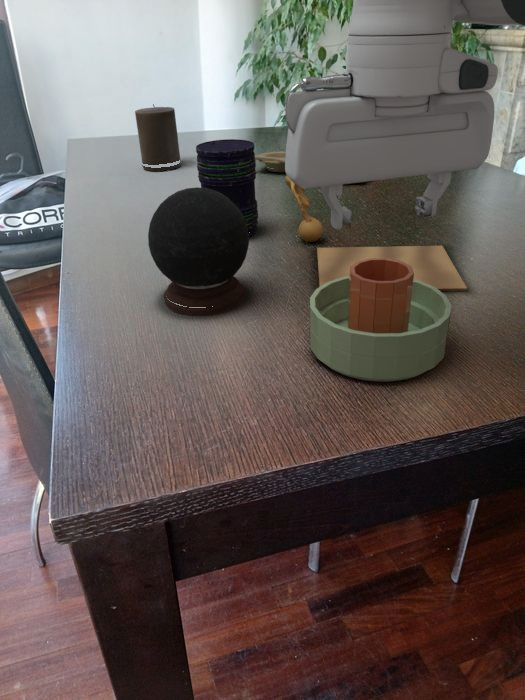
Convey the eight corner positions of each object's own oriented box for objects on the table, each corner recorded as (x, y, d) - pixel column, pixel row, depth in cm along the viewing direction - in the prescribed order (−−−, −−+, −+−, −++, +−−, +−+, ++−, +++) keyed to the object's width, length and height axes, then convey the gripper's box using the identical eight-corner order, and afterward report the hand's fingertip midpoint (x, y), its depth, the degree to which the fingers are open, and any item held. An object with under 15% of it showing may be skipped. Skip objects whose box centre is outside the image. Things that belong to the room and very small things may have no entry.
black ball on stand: (137, 300, 79) (119, 193, 71) (206, 270, 87) (197, 171, 79) (202, 329, 71) (189, 212, 64) (271, 292, 80) (267, 185, 72)
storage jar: (270, 231, 101) (267, 143, 93) (229, 246, 95) (222, 154, 88) (233, 219, 107) (227, 136, 100) (192, 233, 102) (182, 146, 94)
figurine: (321, 250, 92) (322, 175, 86) (284, 250, 93) (283, 176, 87) (323, 232, 99) (324, 162, 93) (288, 232, 100) (287, 163, 94)
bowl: (429, 316, 72) (435, 272, 69) (458, 385, 59) (466, 335, 56) (309, 317, 73) (309, 274, 70) (310, 385, 60) (311, 336, 57)
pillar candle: (164, 173, 140) (156, 107, 132) (135, 169, 144) (125, 106, 137) (189, 164, 147) (182, 101, 139) (160, 161, 151) (152, 100, 144)
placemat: (442, 247, 91) (442, 245, 91) (466, 290, 78) (467, 288, 77) (317, 249, 93) (317, 247, 92) (319, 292, 79) (319, 289, 79)
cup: (400, 328, 68) (407, 257, 63) (409, 357, 62) (418, 282, 58) (345, 328, 68) (348, 258, 64) (349, 357, 63) (352, 283, 58)
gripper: (297, 81, 46) (297, 245, 53) (514, 66, 51) (487, 218, 58) (274, 74, 51) (276, 224, 58) (472, 61, 56) (452, 201, 63)
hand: (383, 221), depth 58 cm, fingers open, 8 cm apart
